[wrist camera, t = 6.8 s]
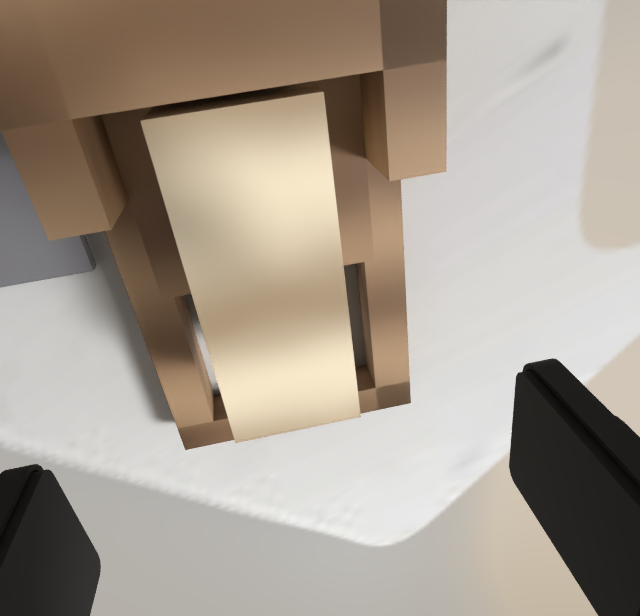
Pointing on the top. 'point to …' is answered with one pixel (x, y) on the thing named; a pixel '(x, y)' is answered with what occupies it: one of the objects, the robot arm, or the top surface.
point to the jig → (210, 81)
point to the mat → (32, 235)
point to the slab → (261, 252)
